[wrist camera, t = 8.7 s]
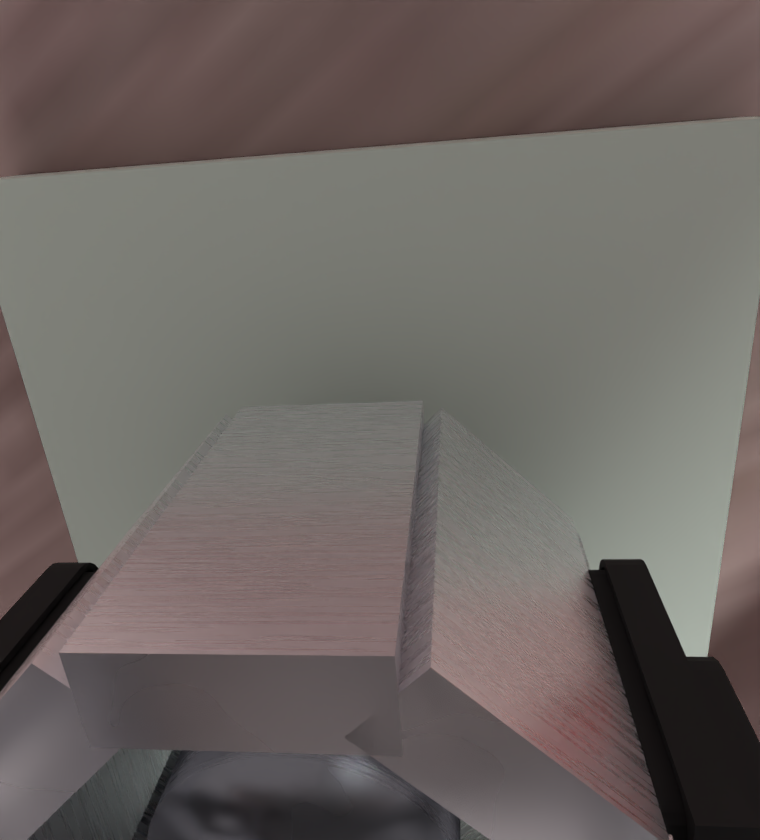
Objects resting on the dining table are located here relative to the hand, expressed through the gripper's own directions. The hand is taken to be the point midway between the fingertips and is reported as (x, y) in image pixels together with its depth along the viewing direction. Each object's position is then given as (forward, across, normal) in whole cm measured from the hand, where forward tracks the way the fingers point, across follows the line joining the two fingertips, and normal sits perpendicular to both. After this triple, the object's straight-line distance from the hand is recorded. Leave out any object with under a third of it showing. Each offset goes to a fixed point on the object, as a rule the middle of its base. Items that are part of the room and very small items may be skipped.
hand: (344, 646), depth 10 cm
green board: (+5, 0, 0) cm, 5 cm away
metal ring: (+1, 0, 0) cm, 1 cm away
